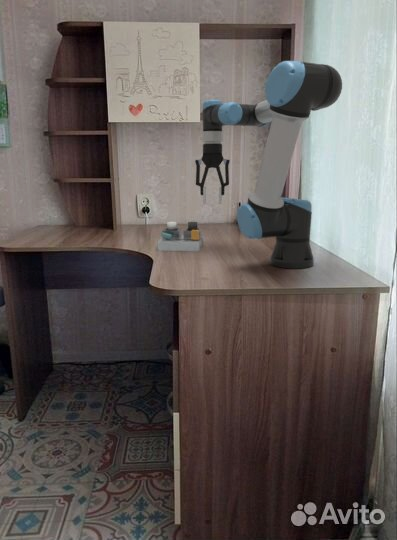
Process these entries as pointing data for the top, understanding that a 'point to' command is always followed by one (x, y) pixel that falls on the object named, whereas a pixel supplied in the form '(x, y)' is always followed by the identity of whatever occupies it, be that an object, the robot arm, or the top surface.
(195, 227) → the button
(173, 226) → the button
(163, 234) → the teal rectangular block
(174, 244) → the panel
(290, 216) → the robot arm
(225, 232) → the top surface
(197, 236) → the slider knob
